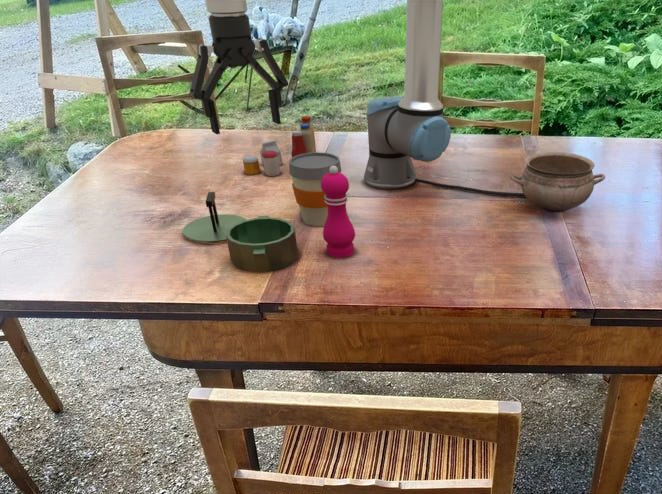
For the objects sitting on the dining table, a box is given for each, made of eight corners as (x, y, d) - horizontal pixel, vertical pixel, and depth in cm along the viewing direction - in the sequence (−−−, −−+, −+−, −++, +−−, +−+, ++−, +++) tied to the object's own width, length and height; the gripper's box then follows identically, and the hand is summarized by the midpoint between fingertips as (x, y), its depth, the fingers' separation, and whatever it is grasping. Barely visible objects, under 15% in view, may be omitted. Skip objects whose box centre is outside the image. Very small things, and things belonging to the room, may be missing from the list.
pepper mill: (331, 261, 135) (322, 173, 123) (320, 248, 140) (311, 163, 128) (361, 255, 138) (355, 168, 126) (349, 243, 143) (343, 158, 131)
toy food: (310, 151, 198) (306, 113, 191) (334, 161, 191) (330, 121, 184) (238, 170, 183) (230, 129, 176) (261, 181, 176) (254, 139, 169)
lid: (252, 217, 155) (246, 183, 149) (248, 243, 142) (241, 207, 137) (188, 220, 152) (180, 186, 147) (179, 247, 140) (169, 211, 135)
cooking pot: (513, 223, 154) (518, 175, 146) (502, 195, 169) (505, 151, 162) (609, 221, 155) (619, 174, 148) (589, 194, 170) (597, 150, 163)
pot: (297, 236, 146) (294, 211, 142) (297, 275, 130) (294, 247, 126) (235, 240, 143) (230, 214, 140) (227, 280, 127) (221, 252, 124)
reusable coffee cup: (286, 224, 151) (277, 164, 142) (310, 206, 161) (304, 149, 152) (330, 232, 148) (325, 171, 139) (353, 213, 157) (349, 155, 149)
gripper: (279, 7, 125) (292, 114, 137) (156, 16, 113) (182, 132, 125) (295, 11, 120) (307, 122, 132) (168, 20, 108) (195, 141, 120)
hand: (247, 127), depth 129 cm, fingers open, 13 cm apart
